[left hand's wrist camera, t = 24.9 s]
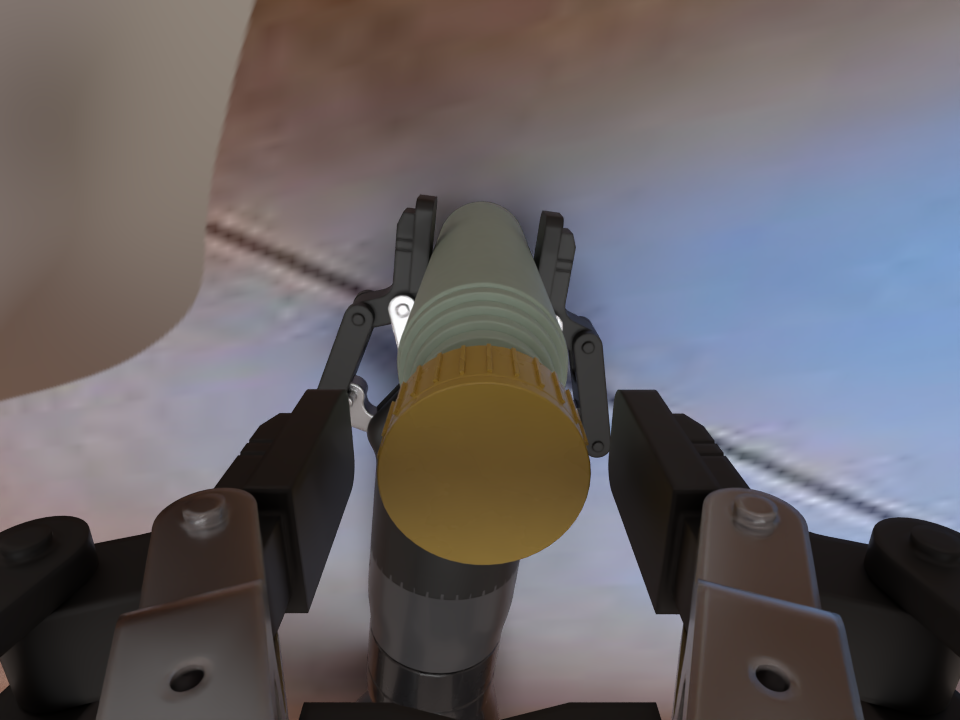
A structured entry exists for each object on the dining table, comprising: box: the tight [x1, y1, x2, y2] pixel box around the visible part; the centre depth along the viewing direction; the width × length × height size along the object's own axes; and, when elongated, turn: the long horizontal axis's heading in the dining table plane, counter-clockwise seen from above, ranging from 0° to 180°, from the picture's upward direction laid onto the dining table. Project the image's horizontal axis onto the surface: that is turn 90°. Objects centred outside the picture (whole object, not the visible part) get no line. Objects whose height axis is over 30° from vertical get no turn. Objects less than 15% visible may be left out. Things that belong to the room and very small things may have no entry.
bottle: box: [397, 202, 568, 388], centre depth 21 cm, size 4×4×21 cm
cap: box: [377, 344, 591, 565], centre depth 11 cm, size 4×4×2 cm
